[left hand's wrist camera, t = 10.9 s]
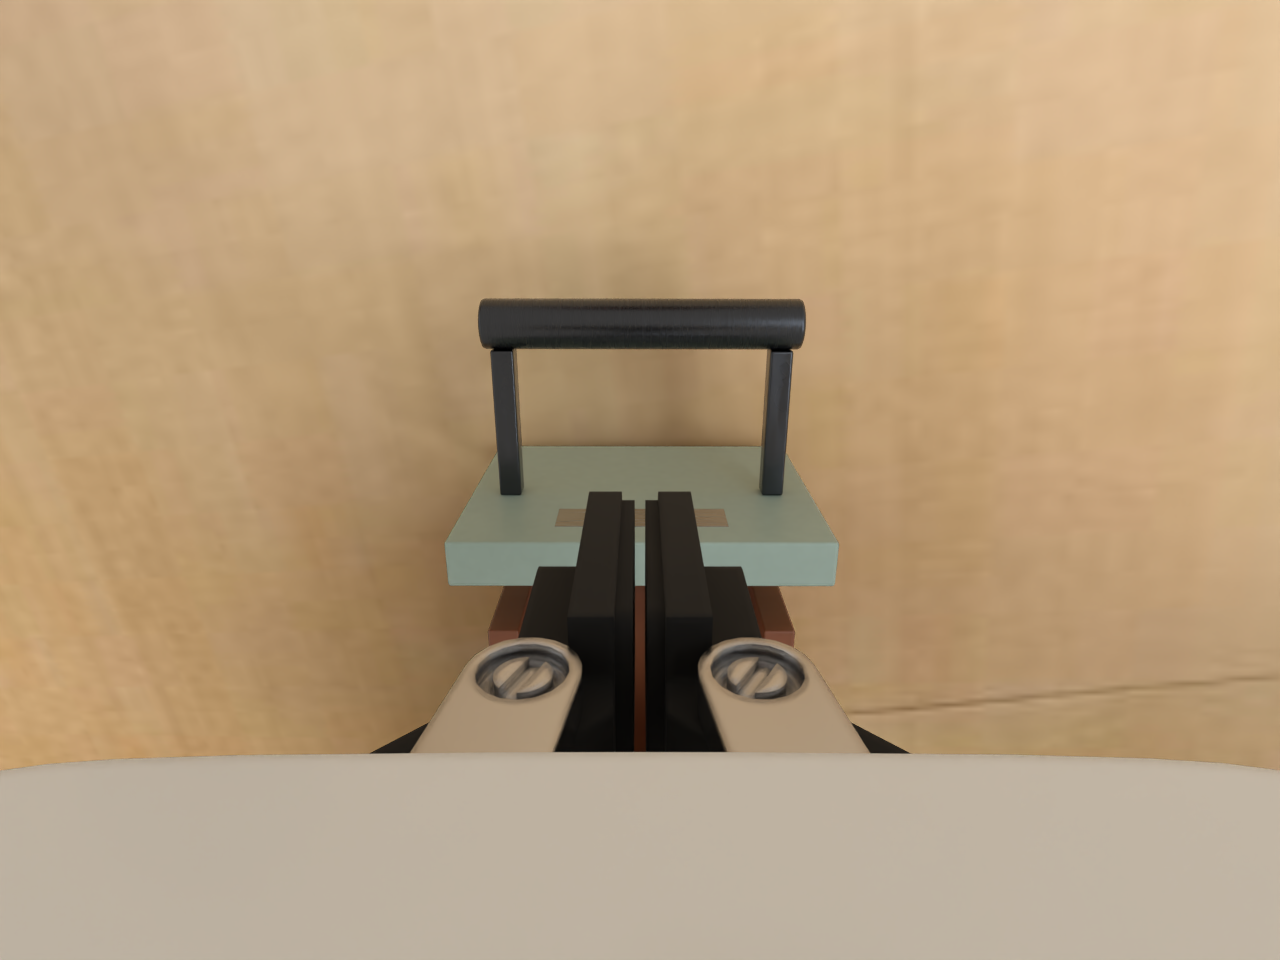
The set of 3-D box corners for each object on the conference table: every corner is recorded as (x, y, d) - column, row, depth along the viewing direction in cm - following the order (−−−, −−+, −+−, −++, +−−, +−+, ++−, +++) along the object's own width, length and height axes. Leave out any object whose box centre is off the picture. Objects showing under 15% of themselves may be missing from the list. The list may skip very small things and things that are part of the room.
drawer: (488, 282, 23) (420, 317, 16) (794, 282, 23) (863, 318, 16) (526, 842, 31) (493, 1033, 24) (753, 842, 31) (787, 1033, 24)
